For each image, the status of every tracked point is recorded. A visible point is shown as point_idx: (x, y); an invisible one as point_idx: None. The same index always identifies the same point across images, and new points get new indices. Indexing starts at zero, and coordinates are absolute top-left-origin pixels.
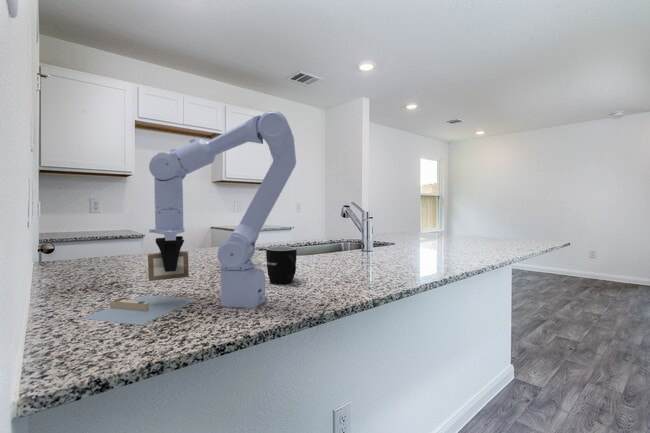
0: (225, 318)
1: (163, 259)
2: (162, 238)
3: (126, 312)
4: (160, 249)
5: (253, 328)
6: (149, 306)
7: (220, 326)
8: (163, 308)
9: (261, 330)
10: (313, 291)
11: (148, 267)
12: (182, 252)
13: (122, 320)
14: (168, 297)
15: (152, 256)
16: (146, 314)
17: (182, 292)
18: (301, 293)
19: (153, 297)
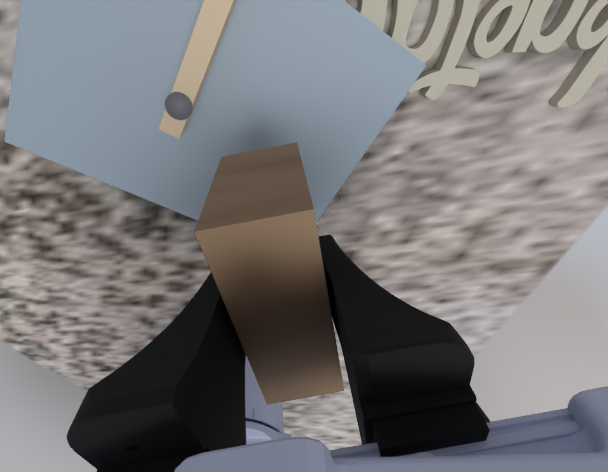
0: (142, 319)
1: (191, 301)
2: (393, 391)
3: (154, 41)
4: (137, 357)
5: (74, 364)
6: (231, 121)
7: (80, 315)
8: (198, 177)
9: (63, 374)
10: (323, 435)
11: (211, 189)
12: (291, 383)
13: (42, 56)
14: (347, 167)
15: (206, 254)
16: (125, 133)
17: (460, 187)
18: (315, 421)
19: (371, 107)
